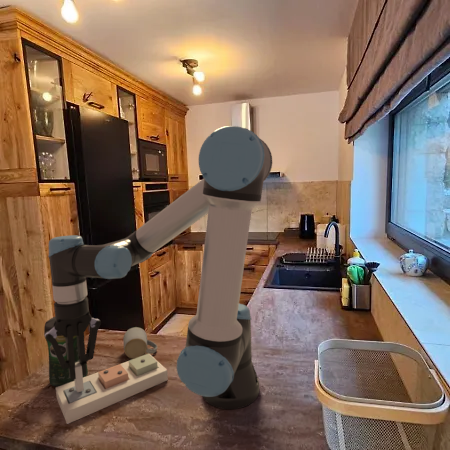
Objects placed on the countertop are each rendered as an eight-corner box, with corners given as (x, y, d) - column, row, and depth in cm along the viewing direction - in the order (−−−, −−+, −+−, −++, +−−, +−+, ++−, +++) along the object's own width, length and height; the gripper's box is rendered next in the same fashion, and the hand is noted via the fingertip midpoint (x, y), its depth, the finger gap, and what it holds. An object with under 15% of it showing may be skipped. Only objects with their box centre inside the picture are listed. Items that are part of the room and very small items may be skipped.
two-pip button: (128, 383, 86) (127, 372, 85) (106, 393, 82) (105, 381, 82) (120, 373, 91) (120, 363, 90) (99, 382, 87) (98, 371, 87)
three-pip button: (96, 402, 81) (95, 390, 80) (70, 413, 77) (69, 400, 77) (89, 391, 86) (88, 379, 85) (65, 400, 82) (64, 389, 82)
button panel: (167, 380, 90) (167, 369, 89) (66, 424, 74) (65, 412, 74) (149, 362, 99) (149, 353, 99) (56, 398, 83) (55, 387, 83)
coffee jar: (92, 371, 95) (86, 311, 93) (78, 388, 87) (72, 323, 85) (60, 371, 96) (54, 312, 94) (44, 388, 88) (37, 323, 86)
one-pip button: (157, 371, 91) (157, 360, 91) (137, 380, 87) (136, 368, 87) (148, 363, 96) (148, 352, 95) (129, 370, 92) (128, 359, 92)
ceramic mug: (124, 362, 100) (123, 339, 99) (124, 350, 107) (122, 328, 106) (158, 356, 103) (157, 333, 102) (156, 345, 111) (155, 323, 110)
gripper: (94, 289, 85) (101, 372, 88) (38, 301, 77) (47, 392, 80) (103, 296, 79) (110, 385, 82) (43, 310, 71) (53, 408, 74)
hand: (79, 388), depth 81 cm, fingers closed
